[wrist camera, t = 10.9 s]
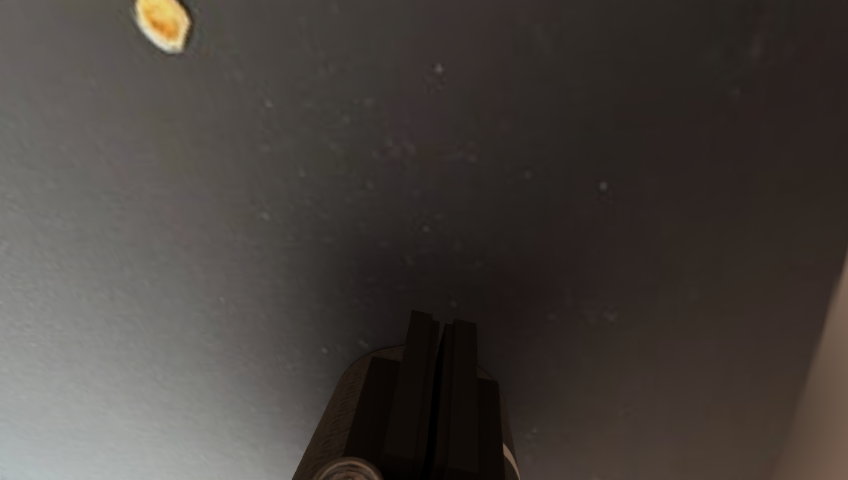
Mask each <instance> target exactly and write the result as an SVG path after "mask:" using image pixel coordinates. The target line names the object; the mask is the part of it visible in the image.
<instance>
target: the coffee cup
mask: <svg viewBox="0 0 848 480" xmlns="http://www.w3.org/2000/svg"><path fill="white" fill-rule="evenodd" d="M404 347H405V346H400V347H392V348H387V349H383V350H379V351H376V352H373V353H371V354H369V355H367V356H365V357H363V358H361V359H359V360H358V361H356V362H355V363H354V364H353V365H351V366H350V367H349V368H348V369H347V370H346V372H345V373H344V374H343V376H342V377H341V379H340V381H339V383H338V385H337V387H336V389H335V391H334V393H333V395H332V397H331V399H330V401H329V403H328V405H327V407H326V409H325V412H324V414H323V416H322V418H321V420H320V422H319V424H318V426H317V428H316V430H315V432H314V434H313V437H312V439H311V441H310V443H309V445H308V447H307V449H306V451H305V453H304V455H303V457H302V460H301V462H300V464H299V466H298V468H297V470H296V472H295V474H294V476H293V478H292V480H312V479H313V477H314V476H315V475H316V473H317V472H318V470H319V469H320V468H322V467H323V466H324V465H325V464H327V463H328V462H330V461H332V460H335V459H337V458H340V457H342V455H343V451H344V448H345V444H346V441H347V438H348V434H349V431H350V427H351V424H352V421H353V417H354V414H355V410H356V407H357V404H358V400H359V397H360V393H361V390H362V387H363V383H364V380H365V376H366V373H367V370H368V366H369V363H370V360H371V357H372V356H377V357H382V358H387V359H392V360H396V361H402V356H403V352H404ZM438 350H439V349H437V354H438ZM437 354H436V358H437ZM477 377H478V378H483V379H488V380H492V378H491V377H490V376H489V375H488V374H487V373H485V372H484V371H483V370H482V369H481V368H479V367H478V366H477ZM499 394H500V408H501V422H502V436H503V450H504V464H505V477H506V480H520V477H519V472H518V466H517V461H516V456H515V451H514V445H513V440H512V435H511V429H510V424H509V419H508V414H507V409H506V404H505V401H504V398H503V395H502V393H501V391H500V389H499Z"/></svg>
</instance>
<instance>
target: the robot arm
mask: <svg viewBox="0 0 848 480" xmlns="http://www.w3.org/2000/svg"><path fill="white" fill-rule="evenodd" d="M432 316H433V314H429V313H424V312H419V311H414V310H412V313H411V318H410V323H409V328H408V332H407V337H406V342H405V347H404V352H403V356H402V361H396V360H392V359H387V358H382V357H377V356H372V357H371V360H370V363H369V366H368V370H367V373H366V376H365V380H364V383H363V387H362V390H361V393H360V397H359V400H358V404H357V407H356V410H355V414H354V417H353V421H352V424H351V427H350V431H349V434H348V438H347V441H346V444H345V448H344V451H343V455H342V457H340V458H337V459H335V460H332V461H330V462H328V463H327V464H325V465H324V466H323V467H322V468H320V469H319V470H318V472H317V473H316V475H315V476H314V477H313V479H312V480H506V477H505V464H504V450H503V436H502V422H501V408H500V394H499V385H498V382H497V381H493V380H488V379H483V378H478V377H477V327H476V323H472V322H467V321H462V320H458V319H455V320H454V323H453V324H449V323H446V324H445V327H444V331H443V335H442V339H441V342H440V346H439V350H438V354H437V344H438V334H439V325H440V322H439V321H434V320H432ZM436 354H437V358H436Z"/></svg>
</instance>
